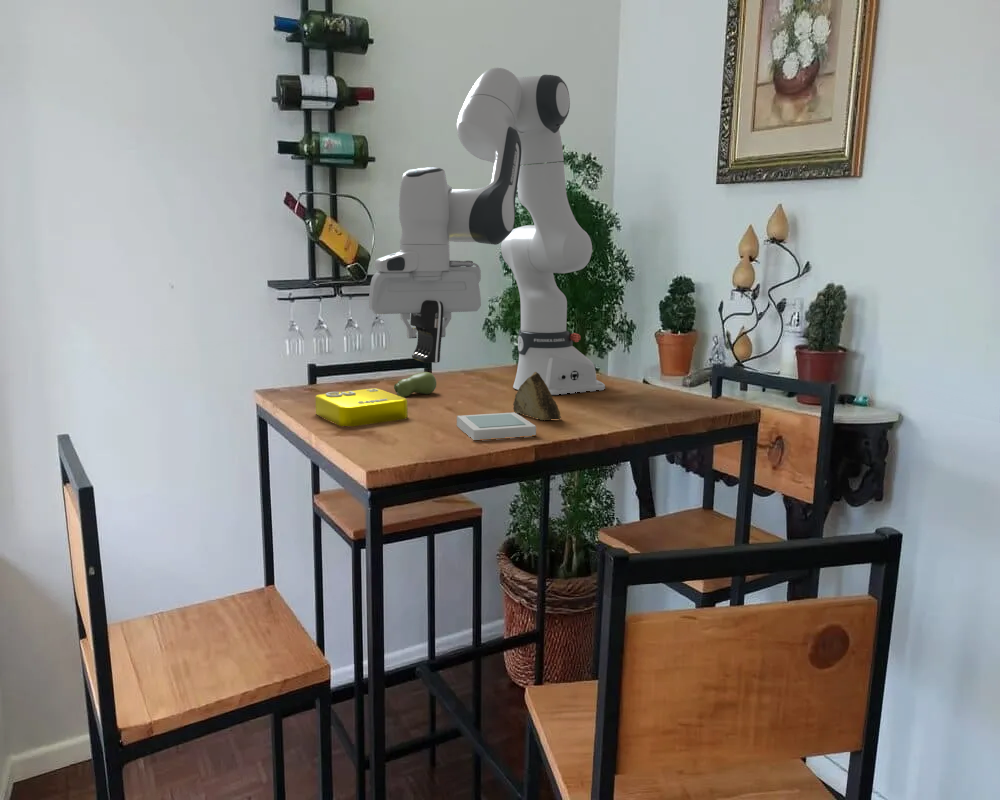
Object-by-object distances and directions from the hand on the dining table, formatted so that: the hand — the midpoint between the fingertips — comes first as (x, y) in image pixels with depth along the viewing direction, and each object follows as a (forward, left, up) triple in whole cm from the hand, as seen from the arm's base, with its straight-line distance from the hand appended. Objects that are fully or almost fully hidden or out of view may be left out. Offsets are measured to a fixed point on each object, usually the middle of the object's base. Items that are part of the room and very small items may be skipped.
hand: (426, 337), depth 143 cm
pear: (-5, -36, -18) cm, 41 cm away
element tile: (+10, -18, -19) cm, 28 cm away
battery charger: (+1, 0, -5) cm, 5 cm away
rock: (-25, -8, -18) cm, 32 cm away
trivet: (-13, +2, -18) cm, 22 cm away
